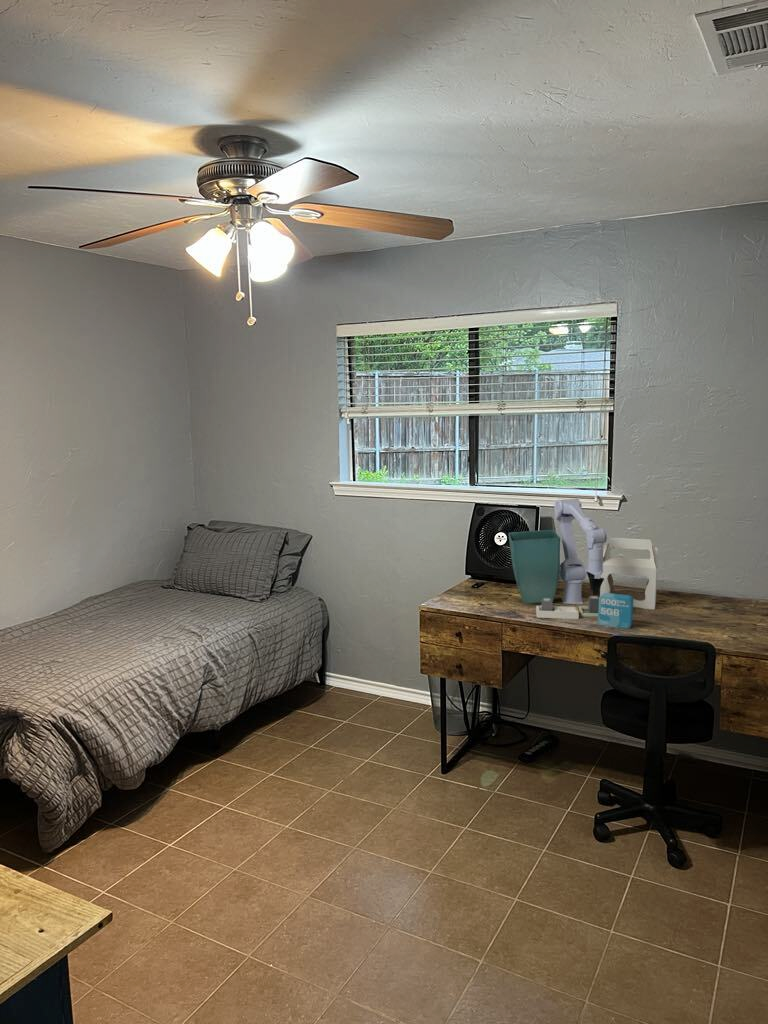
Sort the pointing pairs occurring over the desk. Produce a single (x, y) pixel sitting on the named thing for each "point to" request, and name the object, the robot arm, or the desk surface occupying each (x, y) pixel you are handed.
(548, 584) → the flower pot
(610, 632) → the desk surface
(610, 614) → the data package
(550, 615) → the cream shallow box
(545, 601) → the twin plug
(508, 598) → the desk surface
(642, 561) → the gable box
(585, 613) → the tray
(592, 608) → the plug
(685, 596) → the desk surface
